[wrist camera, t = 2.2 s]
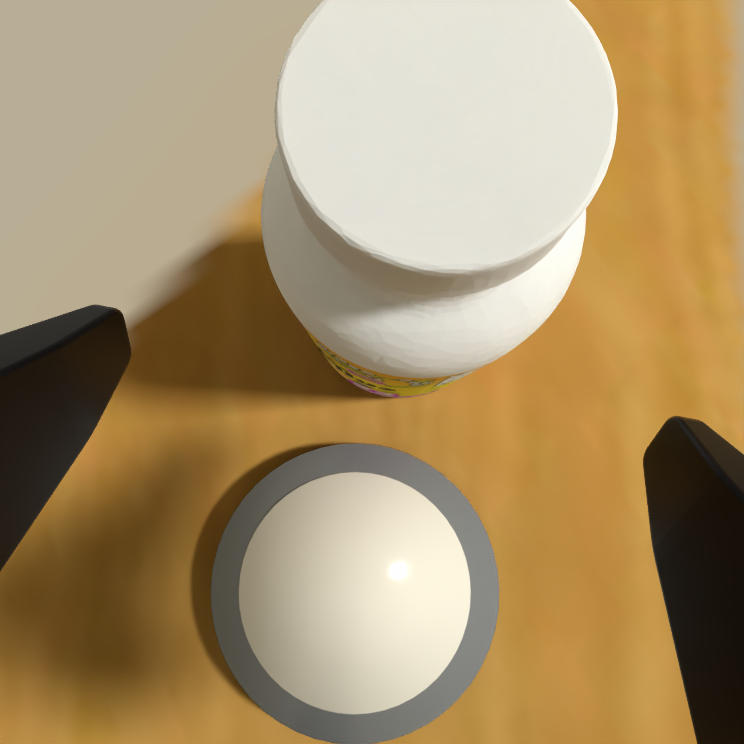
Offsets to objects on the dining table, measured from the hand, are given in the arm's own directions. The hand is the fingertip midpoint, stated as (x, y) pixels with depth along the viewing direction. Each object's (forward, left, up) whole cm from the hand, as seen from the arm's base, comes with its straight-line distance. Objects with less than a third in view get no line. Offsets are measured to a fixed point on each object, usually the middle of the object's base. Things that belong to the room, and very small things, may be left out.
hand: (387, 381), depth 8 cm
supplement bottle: (+4, 0, -11) cm, 12 cm away
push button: (-6, -1, -11) cm, 13 cm away
